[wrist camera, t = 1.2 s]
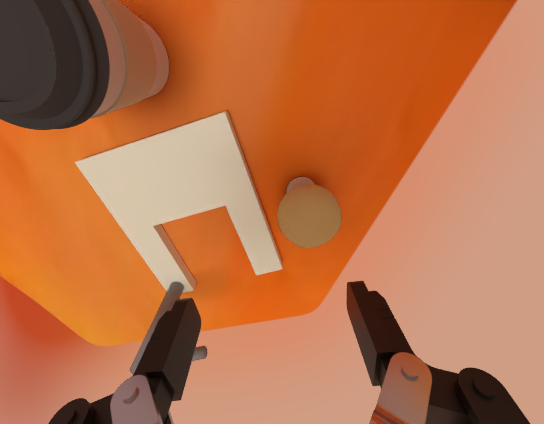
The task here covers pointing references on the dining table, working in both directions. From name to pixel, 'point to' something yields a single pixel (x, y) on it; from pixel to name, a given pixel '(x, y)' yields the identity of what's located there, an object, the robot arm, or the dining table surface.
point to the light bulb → (308, 213)
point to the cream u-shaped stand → (181, 199)
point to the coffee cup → (74, 61)
